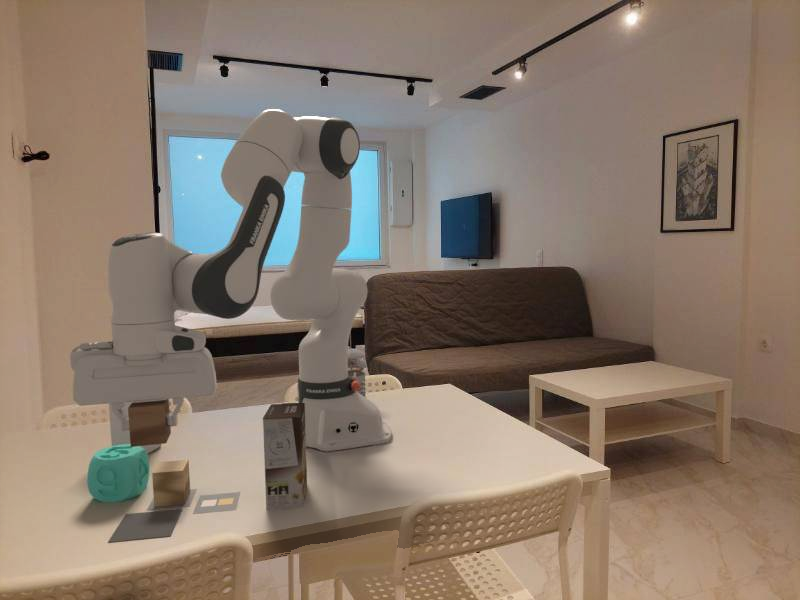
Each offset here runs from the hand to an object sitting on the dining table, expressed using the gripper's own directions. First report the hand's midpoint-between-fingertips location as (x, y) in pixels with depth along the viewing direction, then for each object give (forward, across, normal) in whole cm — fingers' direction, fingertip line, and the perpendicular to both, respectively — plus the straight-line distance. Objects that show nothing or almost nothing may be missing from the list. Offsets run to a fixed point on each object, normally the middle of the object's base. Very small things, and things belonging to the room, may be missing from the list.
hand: (150, 427), depth 88 cm
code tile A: (+17, +9, +7) cm, 20 cm away
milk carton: (+17, -10, +38) cm, 43 cm away
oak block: (+16, +1, +10) cm, 19 cm away
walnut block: (+2, 0, 0) cm, 2 cm away
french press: (+17, +42, +64) cm, 78 cm away
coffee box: (+17, +21, +6) cm, 27 cm away
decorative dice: (+17, -9, +16) cm, 25 cm away
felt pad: (+17, -2, +2) cm, 17 cm away
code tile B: (+17, +1, +10) cm, 20 cm away
